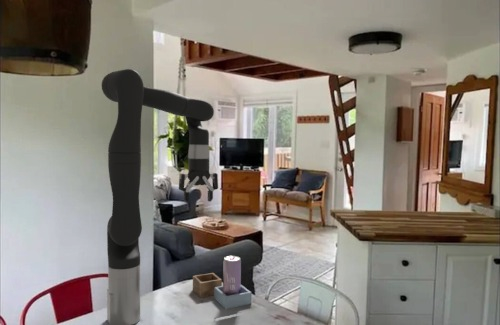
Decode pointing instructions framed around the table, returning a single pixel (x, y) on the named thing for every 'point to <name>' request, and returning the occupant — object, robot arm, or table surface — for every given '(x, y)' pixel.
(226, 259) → the beverage can
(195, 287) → the walnut box
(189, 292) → the table surface
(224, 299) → the tray
